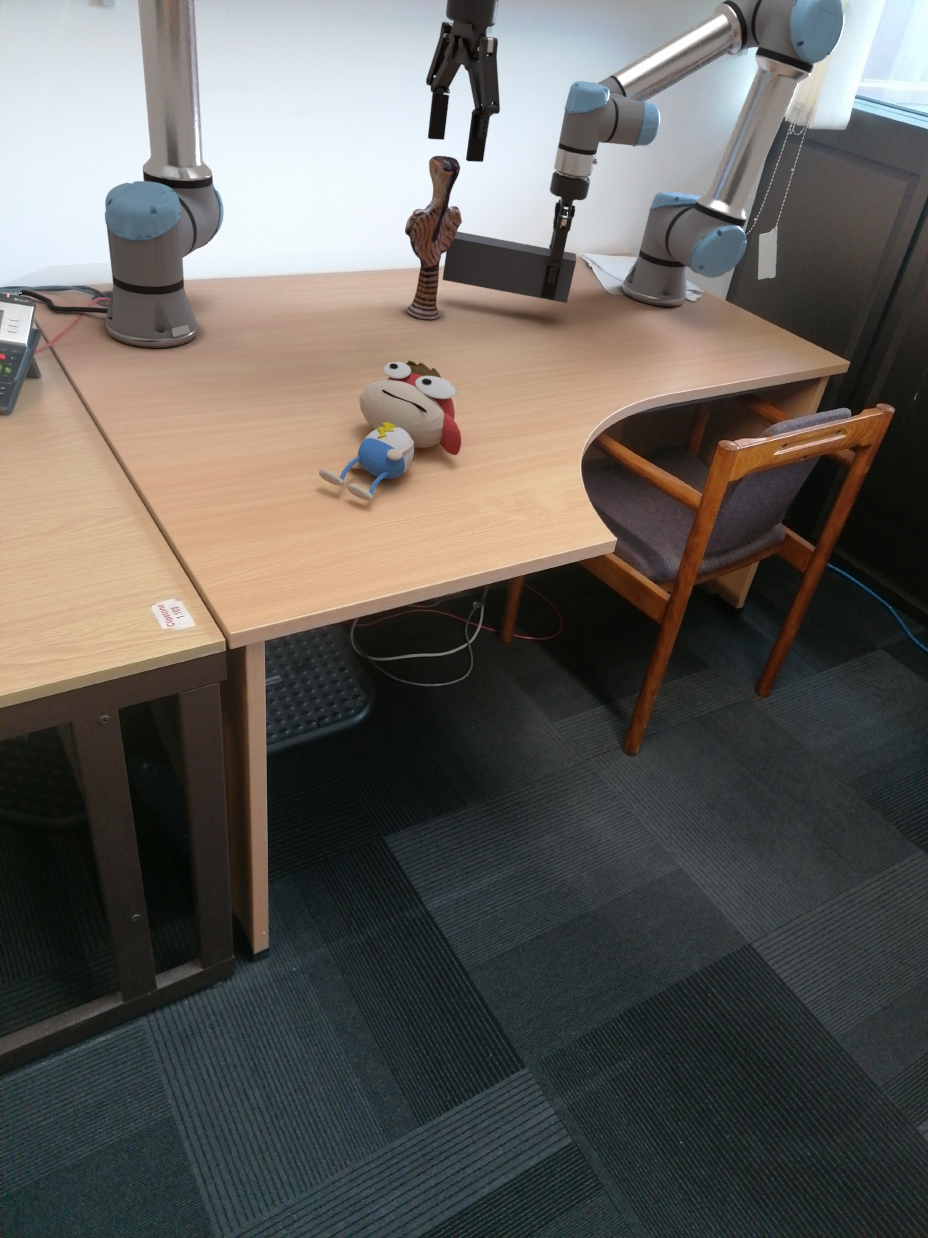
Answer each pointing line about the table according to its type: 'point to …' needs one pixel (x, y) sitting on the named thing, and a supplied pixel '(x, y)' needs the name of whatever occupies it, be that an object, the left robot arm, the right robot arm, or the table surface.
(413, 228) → the figurine
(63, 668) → the table surface
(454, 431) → the toy
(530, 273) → the bar
